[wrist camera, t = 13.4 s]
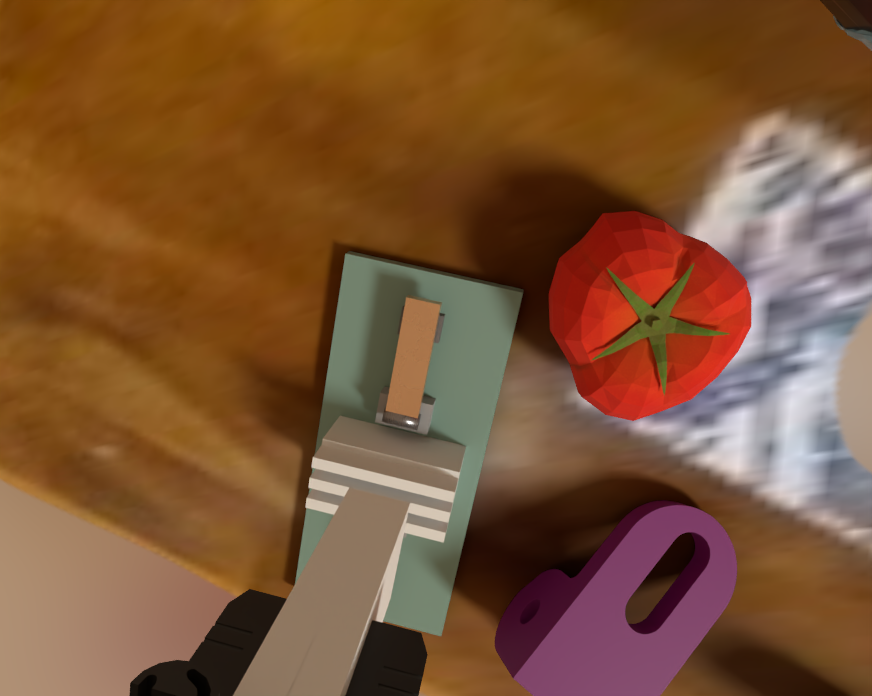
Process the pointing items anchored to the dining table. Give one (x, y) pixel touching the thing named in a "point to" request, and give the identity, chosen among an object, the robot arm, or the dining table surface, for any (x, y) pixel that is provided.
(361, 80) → the dining table surface
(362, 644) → the robot arm
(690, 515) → the mounting bracket
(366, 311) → the board
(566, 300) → the tomato
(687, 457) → the dining table surface
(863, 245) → the dining table surface
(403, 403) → the strap
